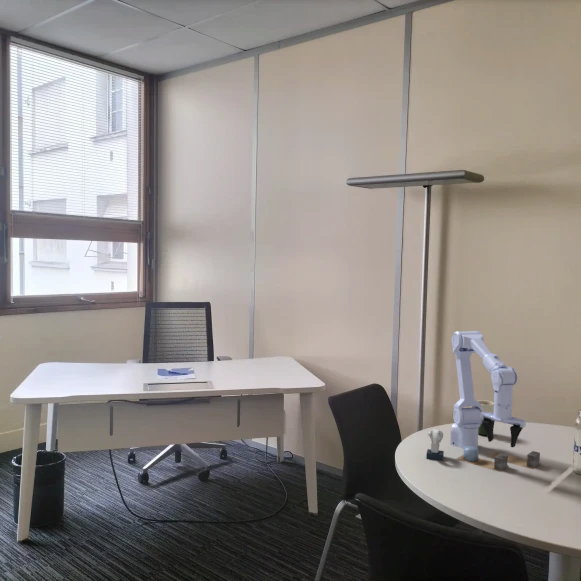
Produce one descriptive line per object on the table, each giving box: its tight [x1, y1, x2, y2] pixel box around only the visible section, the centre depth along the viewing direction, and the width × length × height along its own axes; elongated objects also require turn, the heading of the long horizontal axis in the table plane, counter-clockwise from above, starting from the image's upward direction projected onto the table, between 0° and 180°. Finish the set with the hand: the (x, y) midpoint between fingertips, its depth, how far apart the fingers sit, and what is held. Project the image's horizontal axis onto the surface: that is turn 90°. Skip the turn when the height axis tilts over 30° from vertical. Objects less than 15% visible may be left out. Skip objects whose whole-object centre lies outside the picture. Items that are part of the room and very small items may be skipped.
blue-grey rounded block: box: [462, 446, 480, 462], centre depth 194 cm, size 5×5×4 cm
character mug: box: [470, 399, 494, 436], centre depth 224 cm, size 11×7×13 cm, turn 79°
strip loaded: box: [455, 452, 510, 473], centre depth 191 cm, size 16×7×5 cm, turn 47°
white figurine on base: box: [425, 428, 445, 462], centre depth 195 cm, size 6×8×11 cm
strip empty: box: [487, 450, 542, 470], centre depth 193 cm, size 16×7×5 cm, turn 47°
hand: (501, 443), depth 186 cm, fingers open, 7 cm apart
